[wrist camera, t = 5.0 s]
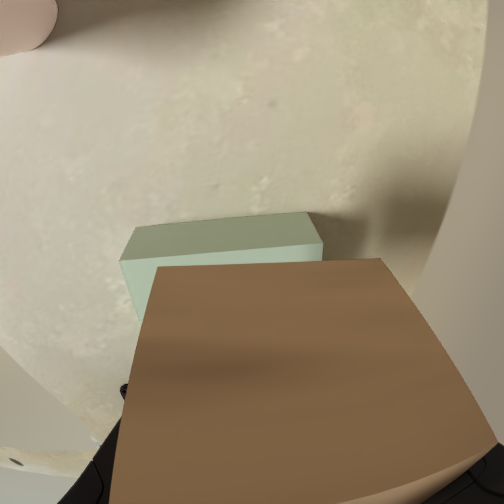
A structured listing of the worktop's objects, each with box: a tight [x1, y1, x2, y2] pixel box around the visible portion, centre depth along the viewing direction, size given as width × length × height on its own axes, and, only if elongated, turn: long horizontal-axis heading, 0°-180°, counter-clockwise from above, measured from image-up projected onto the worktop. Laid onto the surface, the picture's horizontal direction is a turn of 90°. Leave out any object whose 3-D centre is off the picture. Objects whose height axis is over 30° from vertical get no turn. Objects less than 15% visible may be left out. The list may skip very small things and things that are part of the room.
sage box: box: [119, 212, 323, 326], centre depth 19 cm, size 10×10×4 cm
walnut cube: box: [109, 258, 498, 504], centre depth 7 cm, size 6×6×6 cm
